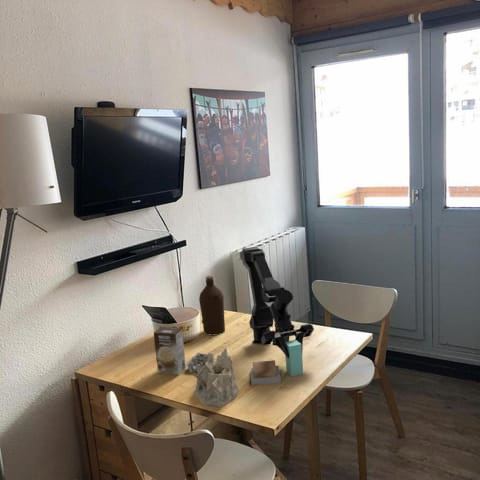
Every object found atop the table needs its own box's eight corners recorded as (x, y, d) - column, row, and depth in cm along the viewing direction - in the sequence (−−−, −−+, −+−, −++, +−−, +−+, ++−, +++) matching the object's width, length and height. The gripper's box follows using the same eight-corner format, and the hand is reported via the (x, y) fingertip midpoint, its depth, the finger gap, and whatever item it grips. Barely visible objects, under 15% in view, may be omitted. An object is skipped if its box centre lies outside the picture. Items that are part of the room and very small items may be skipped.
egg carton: (202, 374, 192) (201, 364, 191) (184, 372, 195) (183, 362, 194) (216, 362, 201) (215, 352, 200) (199, 360, 204) (198, 350, 204)
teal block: (286, 371, 188) (284, 342, 186) (298, 368, 189) (296, 339, 187) (291, 376, 184) (289, 346, 182) (303, 373, 185) (301, 344, 183)
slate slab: (251, 386, 180) (251, 379, 180) (251, 374, 190) (250, 367, 190) (281, 384, 180) (280, 377, 180) (279, 371, 190) (278, 365, 190)
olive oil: (231, 328, 235) (226, 274, 231) (217, 337, 226) (212, 280, 222) (211, 326, 241) (206, 273, 236) (197, 334, 232) (192, 279, 227)
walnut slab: (253, 378, 181) (253, 371, 180) (252, 368, 189) (252, 362, 188) (276, 376, 181) (276, 369, 180) (275, 366, 189) (274, 360, 188)
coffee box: (157, 373, 195) (152, 332, 192) (165, 366, 201) (160, 326, 198) (179, 375, 192) (174, 333, 189) (186, 368, 198) (182, 327, 195)
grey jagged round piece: (206, 379, 187) (202, 340, 183) (247, 388, 179) (244, 348, 175) (181, 402, 174) (176, 361, 170) (223, 413, 166) (219, 370, 162)
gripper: (299, 322, 202) (313, 360, 193) (253, 331, 196) (265, 370, 188) (306, 308, 193) (321, 347, 184) (258, 317, 187) (272, 357, 179)
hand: (295, 356), depth 184 cm, fingers closed on teal block, 4 cm apart
